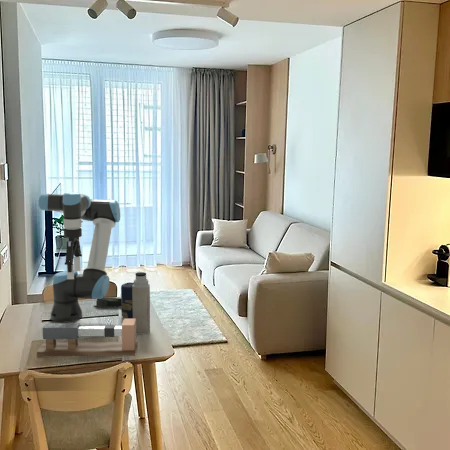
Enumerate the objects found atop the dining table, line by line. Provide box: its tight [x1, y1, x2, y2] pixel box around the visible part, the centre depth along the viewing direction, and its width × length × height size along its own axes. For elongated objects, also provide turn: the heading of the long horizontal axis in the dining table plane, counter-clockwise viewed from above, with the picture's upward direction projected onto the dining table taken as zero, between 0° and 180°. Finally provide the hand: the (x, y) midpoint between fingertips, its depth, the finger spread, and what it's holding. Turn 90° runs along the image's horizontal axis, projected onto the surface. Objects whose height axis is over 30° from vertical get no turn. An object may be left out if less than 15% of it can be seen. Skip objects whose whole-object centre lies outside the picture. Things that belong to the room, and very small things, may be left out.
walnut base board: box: [36, 338, 139, 358], centre depth 216 cm, size 10×40×6 cm, turn 94°
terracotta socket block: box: [121, 318, 137, 350], centre depth 217 cm, size 8×5×11 cm, turn 4°
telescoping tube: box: [77, 324, 122, 338], centre depth 216 cm, size 4×30×4 cm, turn 94°
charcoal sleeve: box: [42, 322, 81, 340], centre depth 215 cm, size 5×14×5 cm, turn 94°
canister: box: [120, 282, 134, 319], centre depth 258 cm, size 10×10×18 cm
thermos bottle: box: [132, 271, 151, 335], centre depth 239 cm, size 8×8×28 cm
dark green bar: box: [93, 296, 121, 308], centre depth 274 cm, size 5×3×15 cm
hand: (74, 274), depth 228 cm, fingers open, 13 cm apart
